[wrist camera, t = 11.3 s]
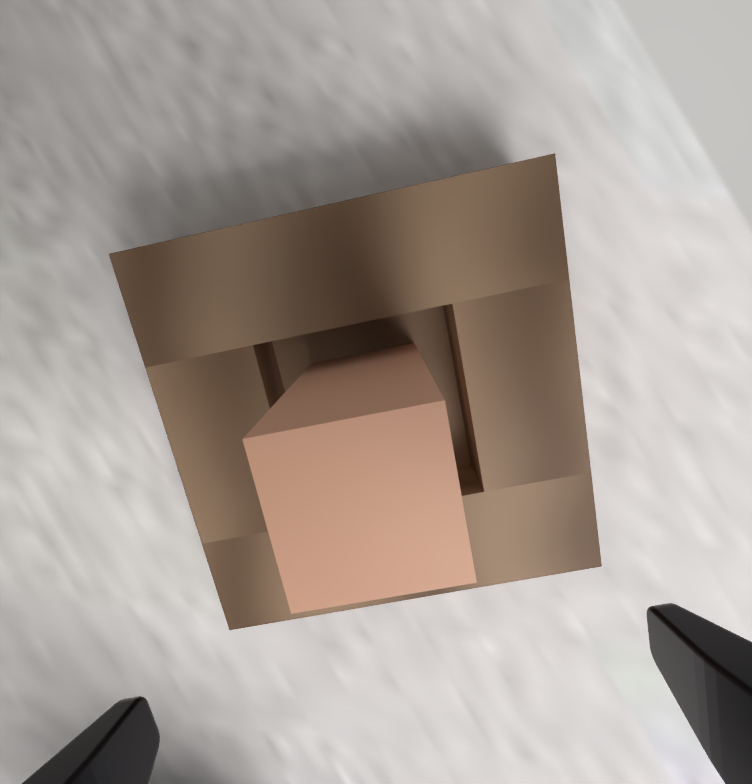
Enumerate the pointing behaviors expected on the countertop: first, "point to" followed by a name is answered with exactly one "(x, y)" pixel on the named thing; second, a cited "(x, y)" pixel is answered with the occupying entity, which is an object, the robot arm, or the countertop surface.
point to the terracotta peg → (361, 482)
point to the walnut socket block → (371, 333)
